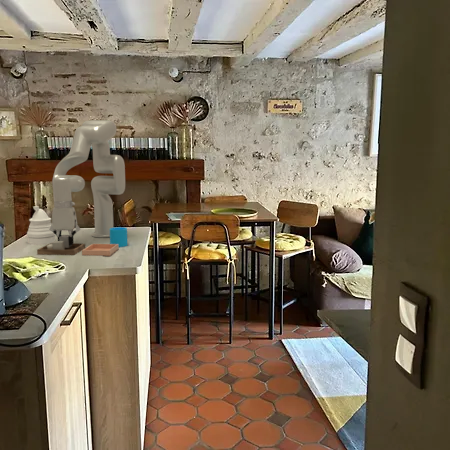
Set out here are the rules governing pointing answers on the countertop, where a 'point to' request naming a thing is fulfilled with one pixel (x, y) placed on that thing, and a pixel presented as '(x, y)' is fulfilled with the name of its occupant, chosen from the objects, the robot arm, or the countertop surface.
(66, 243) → the stone
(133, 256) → the countertop surface
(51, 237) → the honey pot
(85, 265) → the countertop surface
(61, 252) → the tray
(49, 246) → the pebble
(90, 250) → the tray
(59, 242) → the stone
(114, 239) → the mug
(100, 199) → the robot arm
